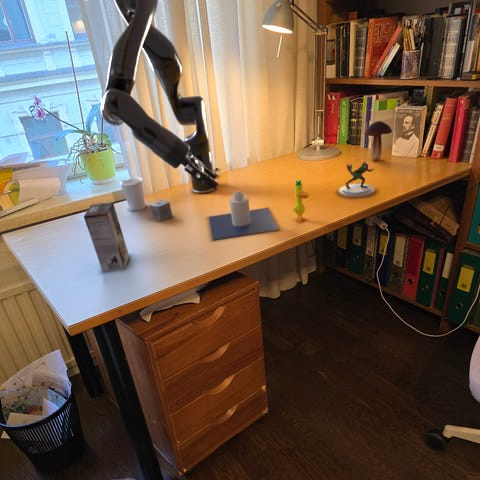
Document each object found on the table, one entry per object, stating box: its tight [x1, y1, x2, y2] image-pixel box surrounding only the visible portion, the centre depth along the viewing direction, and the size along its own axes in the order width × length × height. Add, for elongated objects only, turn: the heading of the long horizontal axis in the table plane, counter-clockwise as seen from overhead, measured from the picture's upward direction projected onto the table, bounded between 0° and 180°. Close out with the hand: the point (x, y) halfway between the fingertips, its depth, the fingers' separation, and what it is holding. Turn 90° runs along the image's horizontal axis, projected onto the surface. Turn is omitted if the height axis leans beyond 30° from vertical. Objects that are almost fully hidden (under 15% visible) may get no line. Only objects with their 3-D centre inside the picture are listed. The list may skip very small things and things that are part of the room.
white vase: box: [229, 191, 251, 226], centre depth 128 cm, size 6×6×10 cm
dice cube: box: [148, 199, 173, 222], centre depth 143 cm, size 5×5×5 cm
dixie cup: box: [119, 177, 146, 211], centre depth 153 cm, size 8×8×10 cm
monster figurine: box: [338, 161, 376, 199], centre depth 140 cm, size 12×12×10 cm
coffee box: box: [83, 201, 130, 273], centre depth 112 cm, size 9×6×16 cm
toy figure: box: [292, 179, 310, 222], centre depth 124 cm, size 7×4×12 cm, turn 32°
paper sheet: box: [208, 207, 280, 241], centre depth 131 cm, size 20×20×1 cm
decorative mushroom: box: [363, 120, 393, 161], centre depth 169 cm, size 11×11×15 cm
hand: (215, 182), depth 123 cm, fingers open, 8 cm apart
